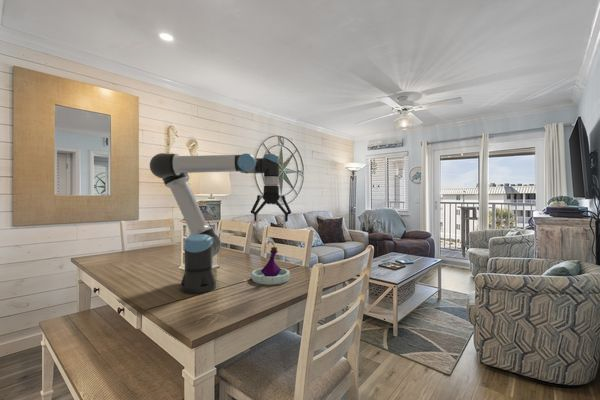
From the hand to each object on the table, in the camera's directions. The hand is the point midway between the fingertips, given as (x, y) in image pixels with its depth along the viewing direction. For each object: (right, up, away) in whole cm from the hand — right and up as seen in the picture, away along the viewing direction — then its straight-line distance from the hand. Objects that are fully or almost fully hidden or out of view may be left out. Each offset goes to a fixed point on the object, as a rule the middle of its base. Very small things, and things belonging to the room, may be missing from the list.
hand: (270, 228), depth 145 cm
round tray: (0, -26, +1) cm, 26 cm away
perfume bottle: (0, -25, +1) cm, 25 cm away
